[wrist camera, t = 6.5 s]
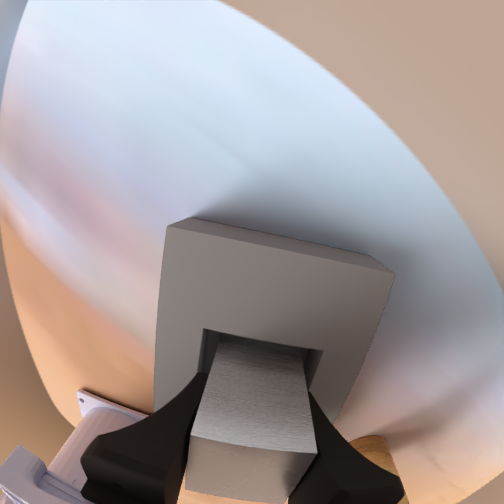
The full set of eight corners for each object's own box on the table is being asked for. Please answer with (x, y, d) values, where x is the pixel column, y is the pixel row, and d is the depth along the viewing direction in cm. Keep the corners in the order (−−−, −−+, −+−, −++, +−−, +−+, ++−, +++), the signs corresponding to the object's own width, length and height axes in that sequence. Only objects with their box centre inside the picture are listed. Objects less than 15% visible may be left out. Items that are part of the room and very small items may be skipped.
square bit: (280, 403, 15) (283, 503, 8) (211, 390, 15) (184, 488, 8) (299, 347, 14) (317, 453, 7) (222, 332, 14) (190, 434, 7)
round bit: (372, 464, 19) (389, 522, 12) (329, 465, 19) (339, 529, 12) (394, 434, 18) (420, 495, 11) (348, 435, 18) (367, 505, 11)
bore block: (302, 435, 18) (305, 470, 15) (168, 410, 18) (154, 443, 15) (370, 255, 15) (395, 273, 12) (188, 217, 15) (167, 226, 12)
